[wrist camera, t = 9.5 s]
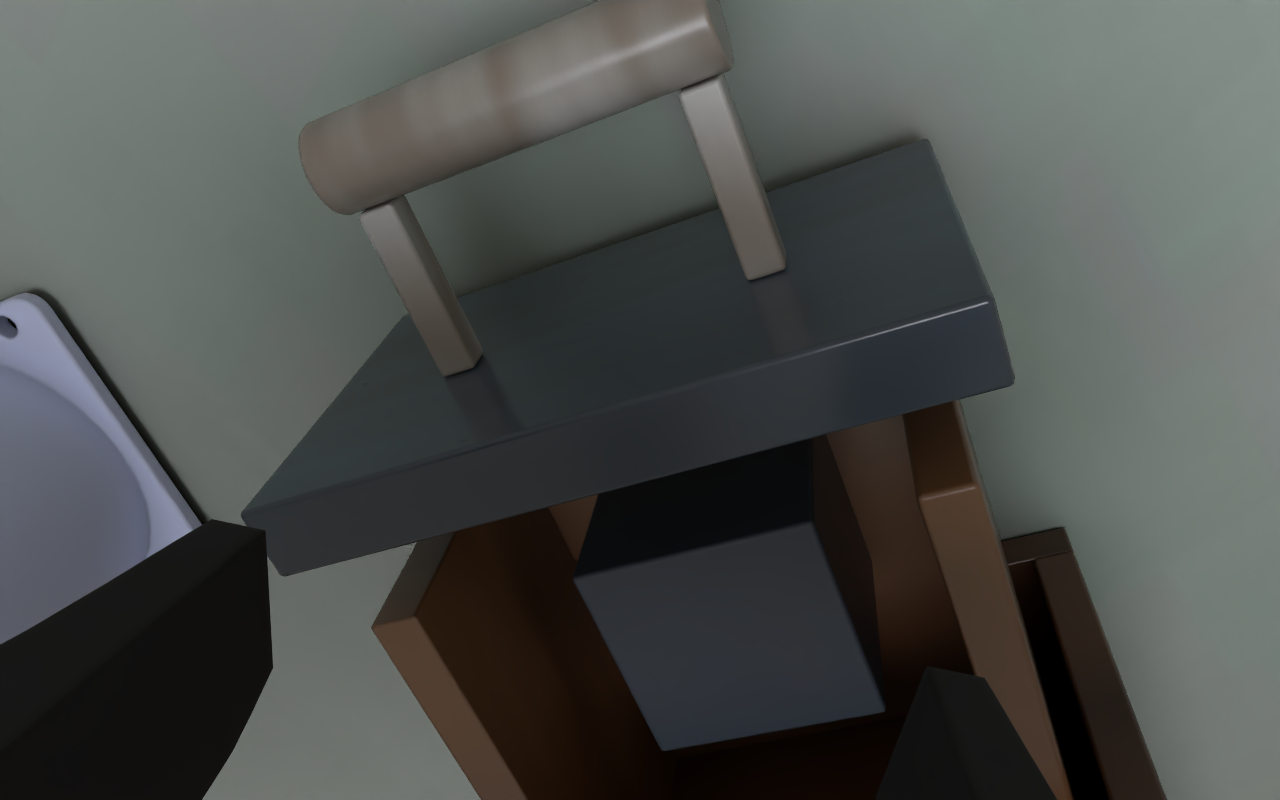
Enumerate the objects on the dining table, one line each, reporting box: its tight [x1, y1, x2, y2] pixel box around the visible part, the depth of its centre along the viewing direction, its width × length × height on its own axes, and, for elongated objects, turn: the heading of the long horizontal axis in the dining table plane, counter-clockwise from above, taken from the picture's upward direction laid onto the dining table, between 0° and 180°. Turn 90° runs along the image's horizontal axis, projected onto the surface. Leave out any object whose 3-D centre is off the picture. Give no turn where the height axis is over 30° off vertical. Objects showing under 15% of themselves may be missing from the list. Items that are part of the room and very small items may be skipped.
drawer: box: [241, 0, 1075, 800], centre depth 17 cm, size 17×10×7 cm, turn 22°
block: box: [573, 435, 886, 751], centre depth 18 cm, size 4×4×4 cm
